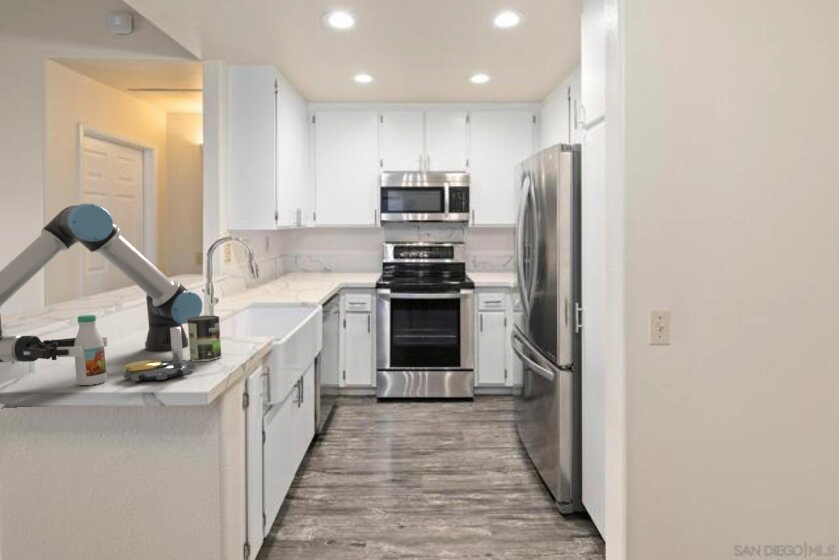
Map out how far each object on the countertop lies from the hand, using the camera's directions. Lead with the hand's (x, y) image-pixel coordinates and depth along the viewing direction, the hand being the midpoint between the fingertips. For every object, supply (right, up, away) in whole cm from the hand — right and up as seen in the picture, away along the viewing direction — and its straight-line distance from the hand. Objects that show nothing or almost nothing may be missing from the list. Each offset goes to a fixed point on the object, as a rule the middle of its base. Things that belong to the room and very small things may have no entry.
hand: (94, 346), depth 173 cm
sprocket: (+16, -10, +8) cm, 20 cm away
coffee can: (+22, -8, +30) cm, 38 cm away
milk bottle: (-1, -11, +1) cm, 11 cm away
